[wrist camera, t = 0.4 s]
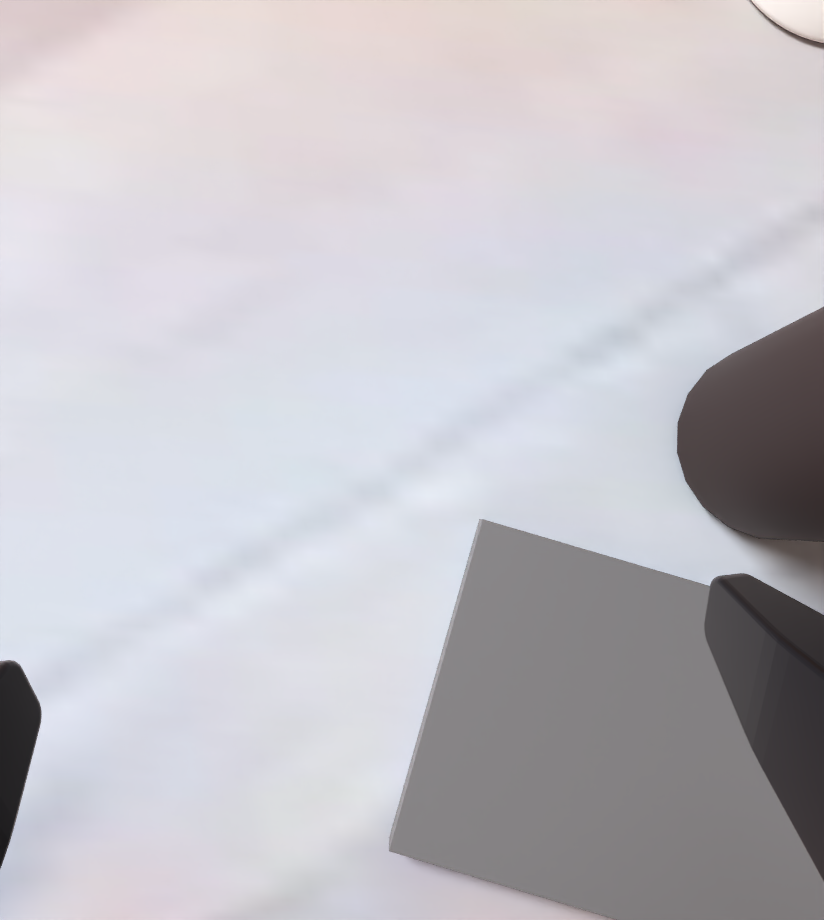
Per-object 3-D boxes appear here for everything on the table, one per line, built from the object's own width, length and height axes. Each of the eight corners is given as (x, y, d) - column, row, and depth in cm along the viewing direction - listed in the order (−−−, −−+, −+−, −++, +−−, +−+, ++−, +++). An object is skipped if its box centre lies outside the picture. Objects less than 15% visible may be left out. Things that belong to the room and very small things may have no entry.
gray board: (911, 993, 23) (936, 1016, 22) (389, 836, 23) (388, 850, 22) (981, 666, 24) (1007, 673, 23) (479, 519, 24) (482, 519, 23)
